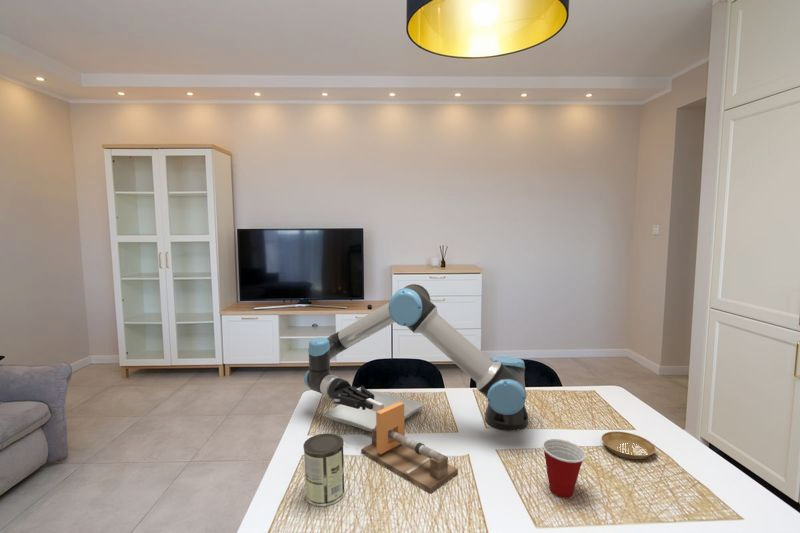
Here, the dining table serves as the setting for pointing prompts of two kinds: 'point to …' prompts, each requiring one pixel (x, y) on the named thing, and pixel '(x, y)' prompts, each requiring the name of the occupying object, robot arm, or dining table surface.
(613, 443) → the plant saucer
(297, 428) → the dining table surface
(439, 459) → the pipe stand
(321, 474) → the coffee can
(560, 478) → the plastic cup
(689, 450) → the dining table surface
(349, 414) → the square plate
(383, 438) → the upright orange slab
